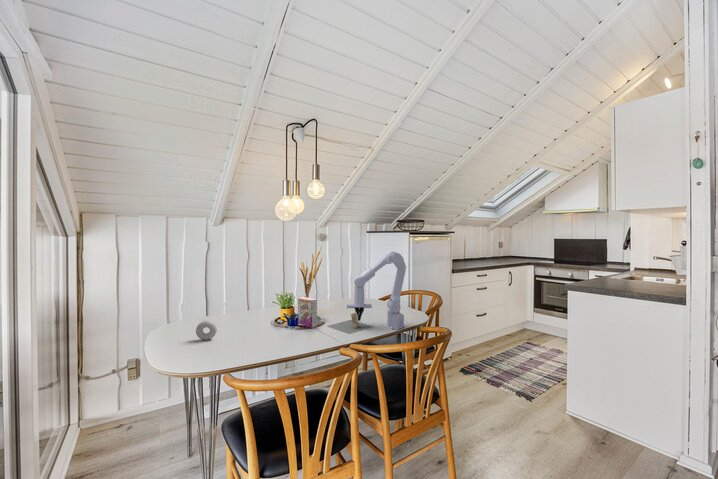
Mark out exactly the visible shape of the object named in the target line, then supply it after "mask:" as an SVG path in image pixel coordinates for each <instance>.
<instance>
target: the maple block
mask: <svg viewBox="0 0 718 479" xmlns="http://www.w3.org/2000/svg"><path fill="white" fill-rule="evenodd" d="M350 317H351V320H352V322H353V326H354V328H357V327H359V323H358V322H359V321H358V317H357V314H356V312H354V313H350Z"/></svg>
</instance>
